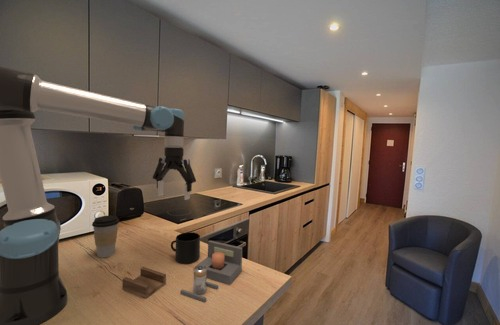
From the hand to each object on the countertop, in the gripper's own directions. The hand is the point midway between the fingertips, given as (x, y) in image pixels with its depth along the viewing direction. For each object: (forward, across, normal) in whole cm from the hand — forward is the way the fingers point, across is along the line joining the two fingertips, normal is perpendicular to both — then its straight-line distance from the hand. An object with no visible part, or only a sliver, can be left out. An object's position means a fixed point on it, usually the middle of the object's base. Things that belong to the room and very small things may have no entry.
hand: (173, 197), depth 97 cm
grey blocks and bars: (+24, -25, +12) cm, 37 cm away
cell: (+24, -25, +18) cm, 39 cm away
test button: (+21, -26, +7) cm, 34 cm away
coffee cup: (+24, +23, +13) cm, 35 cm away
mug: (+24, -8, +2) cm, 25 cm away
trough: (+23, -8, +24) cm, 34 cm away
